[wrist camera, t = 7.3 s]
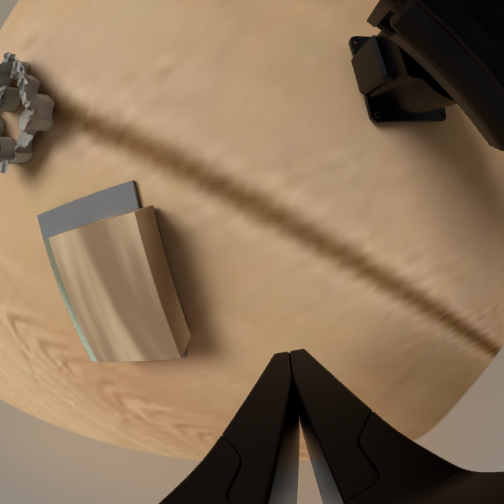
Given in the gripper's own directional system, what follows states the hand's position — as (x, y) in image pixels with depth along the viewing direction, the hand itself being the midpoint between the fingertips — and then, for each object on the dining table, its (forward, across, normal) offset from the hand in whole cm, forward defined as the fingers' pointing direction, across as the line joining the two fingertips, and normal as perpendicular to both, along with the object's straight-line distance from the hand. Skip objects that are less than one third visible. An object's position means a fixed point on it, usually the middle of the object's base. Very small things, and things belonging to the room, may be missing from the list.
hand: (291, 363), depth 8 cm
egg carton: (+12, +19, -17) cm, 29 cm away
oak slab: (+10, +7, 0) cm, 12 cm away
